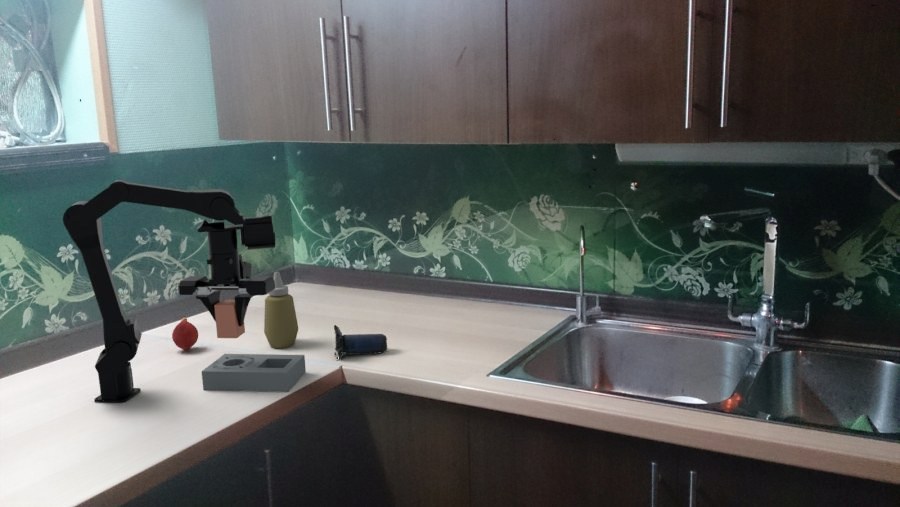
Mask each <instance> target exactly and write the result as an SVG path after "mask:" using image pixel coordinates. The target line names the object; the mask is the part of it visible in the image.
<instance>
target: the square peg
mask: <svg viewBox="0 0 900 507" xmlns="http://www.w3.org/2000/svg"><path fill="white" fill-rule="evenodd" d="M219 301H220V302H219V303H217V304H215V305H214V307H215V318H216V322H215V327H216V335H217V336H216V337H217V339H238V338H239V337H241V336H242V335H244V334H245V333H246V328H245V326H246V325H245V321H244V322H243V325H242V326H239V325H238V321H237V314H236V306H235V299H222V300H219Z"/></svg>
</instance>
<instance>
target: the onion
mask: <svg viewBox="0 0 900 507" xmlns="http://www.w3.org/2000/svg"><path fill="white" fill-rule="evenodd" d="M171 338H172V342H173V344H174V345H175V346H176V347H178V348H179V349H180V350H183V351H190V349H191V348H192V347H193V346H194V345H195V344H196V343H197V341H198V339H199V331H198V328H197V327H196V326H195V325H194V324H193V323H191V322H189V321H188V318H187V317H183V318H182V319H181V321H180V322H179V323H177V325H176V326H175V327H174V328H173V331H172V337H171Z"/></svg>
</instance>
